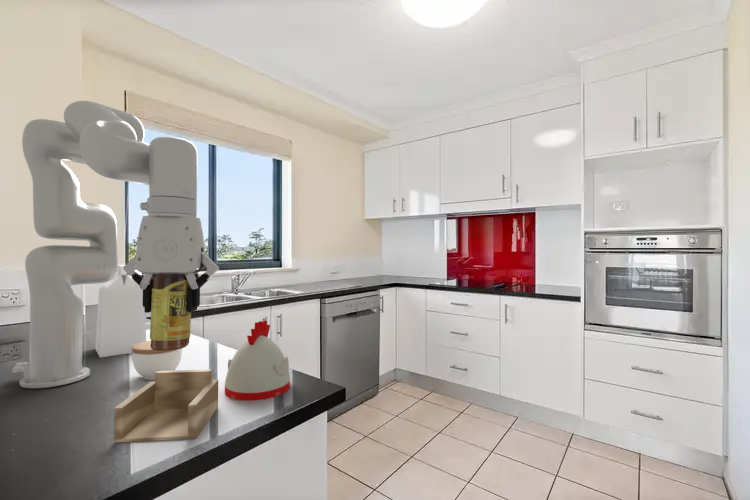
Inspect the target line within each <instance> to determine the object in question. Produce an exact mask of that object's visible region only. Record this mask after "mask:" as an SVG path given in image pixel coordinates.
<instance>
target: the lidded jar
mask: <svg viewBox="0 0 750 500" xmlns="http://www.w3.org/2000/svg"><path fill="white" fill-rule="evenodd" d="M150 345H151V340H146V342H141V343H138V344H136V345H134V346H133V347H132V352H133V353H132V364H133V367H134V369H135V371H136V372H137V374H139V376H141V377H142V378H143V380H151V381H152V380H154V381H155V373H156V372H157V371H173V370H177V368H178V367H179V365H180V362H181V359H182V355H183V348H181V349H176V350H167V351H157V350H153V349H151V346H150Z"/></svg>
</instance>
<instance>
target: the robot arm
mask: <svg viewBox="0 0 750 500" xmlns="http://www.w3.org/2000/svg"><path fill="white" fill-rule="evenodd" d="M63 121H64V122H63ZM63 121H59V120H55V119H54V120H53V119H47V118H46V119H43V118H39V119H33V120H30V121H29V122H27V123H26V125H25V126H24V129H23V132H22V140H21V144H22V145H21V147H22V153H23V156H24V160H25V162H26V165H27V167H28V170H29V171H30V176H31V179H32V203H33V204H32V205H33V207H32V209H33V211H32V212H33V213H32V214H33V227H34V230H35V233H36V234H37V235H38V236H39V237H41V238H45V239H49V240H62V241H64V240H65V241H87V242H89V245H70V244H69V245H66V244H65V245H62V244H57V245H56V244H51V245H49V244H48V245H44V246H38V247H35V248H34V249H31V251H29V252H28V254H27V255H26V256H25V261H24V264H25V265H24V267H25V272H26V278H27V282H28V283H27V284H28V288H29V289H28V290H29V351H28V352H29V357H28V359H29V360H28V362H27V361H25V362H23V361H21V362H16V363H15V365H14V367H13V368H12V369H11V373H12V374H21V373H22V374H23V377H21V379H20V380H19V386H20V387H21V388H24V389H46V388H53V387H59V386H64V385H69V384H72V383H75V382H79V381H82V380H83V379H86V378H87V377H90V375H91V369H90V368H89V367H86V366H83V348H84V347H83V339H84V336H83V334H84V329H83V328H84V303H83V299H82V298H81V297H80V296H79V294H77V292H75V291H74V289H73V288H72V286H78V285H91V284H92V285H93V284H94V285H95V284H105V283H107V282H108V281H111V280H112V279H113V278H114V277H115V275H117V271H118V265H119V263H118V261H119V259H118V257H119V256H118V254H119V253H118V225H117V219H116V215H115V214H114V212H113V210H112V209H111V208H110V207H108V206H107V205H105V204H101V203H92V202H83V200H81V196H80V195H81V191H80V187H81V186H80V182H79V179H78V178H77V177H76V175H75V173H74V172H73V170H72V169H71V168H69V166H67V164H66V163H64V161H67V162H73V163H77V164H84V165H87V167H89V168H90V169H92V171H93V172H95V173H97V174H98V175H100V176H102V177H103V178H108V179H110V180H116V181H122V182H130V183H133V184H140V185H141V184H142V185H146V186H148V197H147V198H146V202H141V203H140V204H139V207H140V210H141V211H145V212H146V213H147V214H148V215H143V216H142V218H141V221H140V226H139V229H138V233H137V241H136V249H135V251H136V252H135V256H134V257H133V258H132V259H131V260H129V261H128V262H127V263H126V264H125V266H124V267H123V269H124V271H125V272H126V273H127V275H128V276H129V277H132V279H133V280H134V281H135V282H136V283H137V284H138V285H139V287H140V288H141V289H143V307H145V309H144V311H145V314H146V313H149V314H150V313H151V301H152V288H153V275H154V274H159V273H162V274H185V275H186V278H187V280H188V282H189V285H190V289H188V290H187V312H191V313H193V312H195V311H197V310H198V307H199V306H200V304H201V288H203V286H204V285H205V284H206V283H207V282H208V281H209V280H210V279H211V278H212V277H213V276H214V275H215V274H216V273H217V272H218V271H219V270H220V267H219V265H217V264H216V263H215V262H214V261H213V260H212V259H211V257H209V256H208V255H207V254H206V253H205V251H206V250H205V241H204V232H203V225H202V221H201V218H200V217H197V212H198V211H197V209H198V208H197V206H198V205H197V203H198V201H197V197H198V195H197V193H198V149H197V147H196V145H195V144H194V143H193V142H191V141H189V140H187V139H184V138H179V137H175V136H158V137H155V138H153V139H152V140H151V141H150V143H147V142H144V140H145V128H144V125H143V124H142V122H141V120H140V119H139V118H138V117H137V116H136V115H135V114H132V113H130V112H127V111H123V110H119V109H117V108H115V107H110V106H108V105H104V104H101V103H98V102H94V101H88V100H78V101H77V100H76V101H74V102H71V103H70V104H68V105H67V106H66V107H65V109H64V112H63ZM205 267H206V270H205V271H204V269H205ZM202 271H204V273H202V274H201V275H200V274H199V272H202Z"/></svg>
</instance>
